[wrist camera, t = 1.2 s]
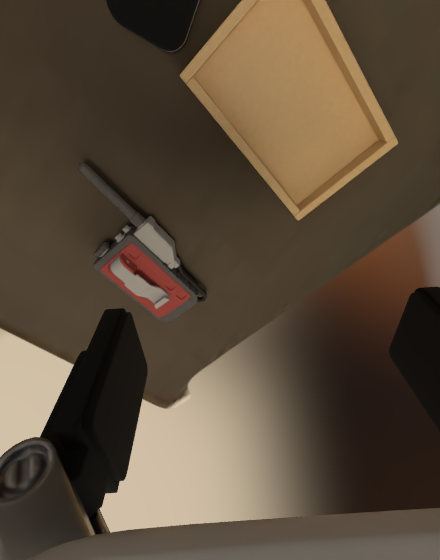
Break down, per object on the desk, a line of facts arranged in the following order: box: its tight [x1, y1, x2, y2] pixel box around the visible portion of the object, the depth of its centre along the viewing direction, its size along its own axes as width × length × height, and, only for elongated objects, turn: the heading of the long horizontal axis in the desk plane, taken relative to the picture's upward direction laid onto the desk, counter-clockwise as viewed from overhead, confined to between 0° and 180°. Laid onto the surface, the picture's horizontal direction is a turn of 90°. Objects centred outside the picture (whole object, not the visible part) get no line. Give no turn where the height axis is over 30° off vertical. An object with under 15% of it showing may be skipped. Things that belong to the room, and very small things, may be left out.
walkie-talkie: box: [78, 163, 207, 322], centre depth 32 cm, size 9×4×20 cm
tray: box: [180, 0, 398, 221], centre depth 26 cm, size 17×11×2 cm, turn 43°
